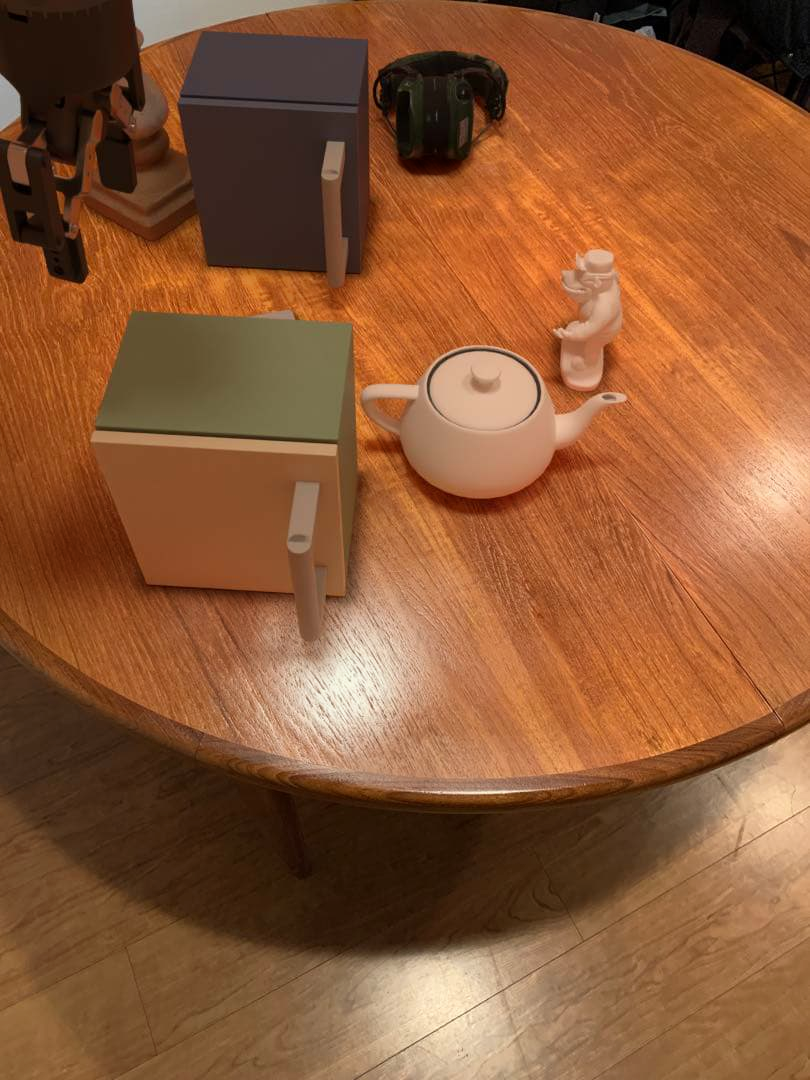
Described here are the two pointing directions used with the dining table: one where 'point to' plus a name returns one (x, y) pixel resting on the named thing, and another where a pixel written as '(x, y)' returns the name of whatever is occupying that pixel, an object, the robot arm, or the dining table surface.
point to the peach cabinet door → (231, 514)
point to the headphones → (439, 100)
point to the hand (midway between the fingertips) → (95, 231)
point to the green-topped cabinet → (239, 385)
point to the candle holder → (149, 174)
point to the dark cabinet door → (276, 184)
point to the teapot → (481, 421)
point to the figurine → (589, 318)
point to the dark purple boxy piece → (287, 79)
